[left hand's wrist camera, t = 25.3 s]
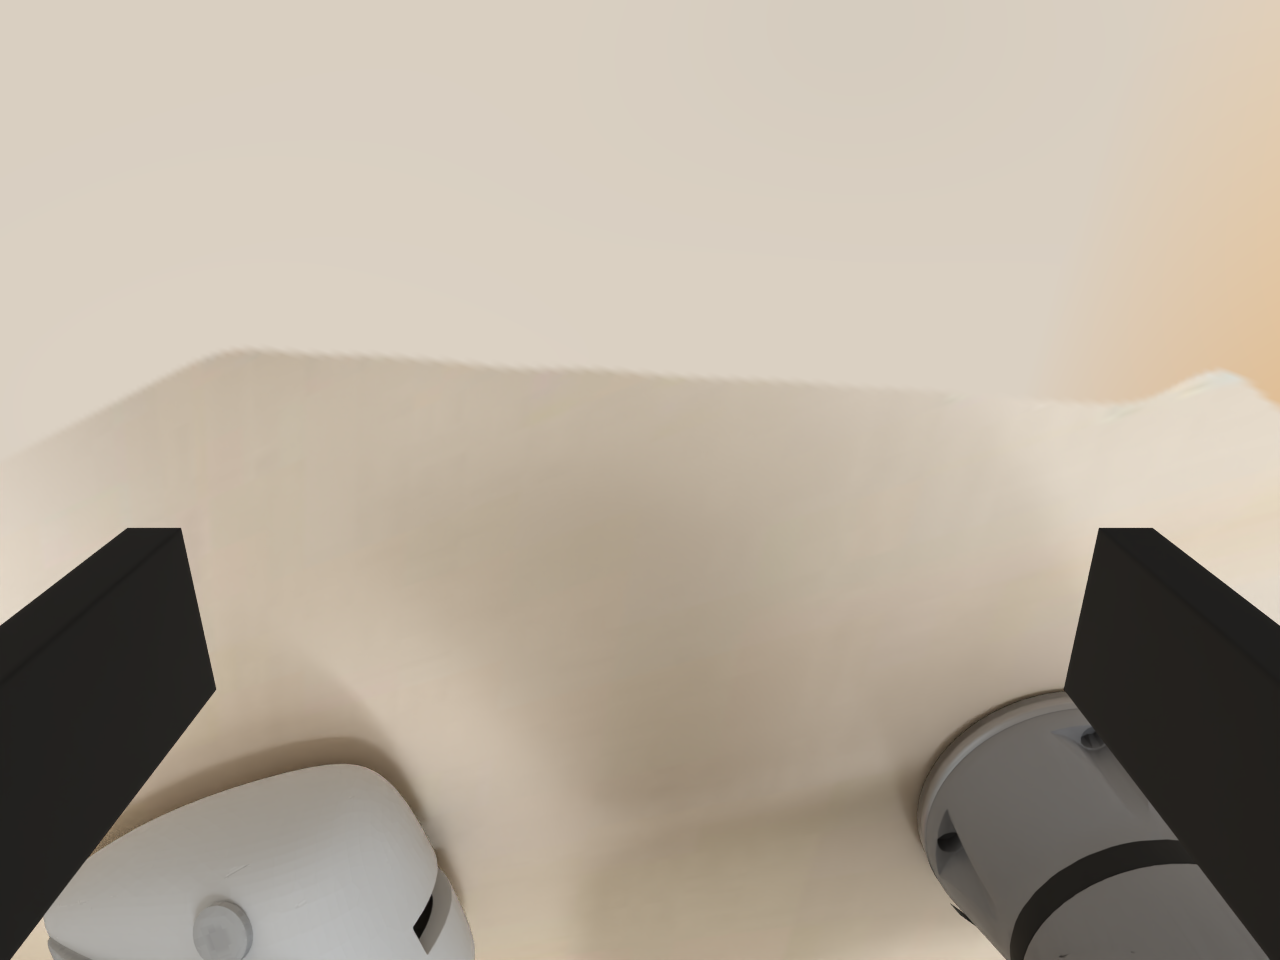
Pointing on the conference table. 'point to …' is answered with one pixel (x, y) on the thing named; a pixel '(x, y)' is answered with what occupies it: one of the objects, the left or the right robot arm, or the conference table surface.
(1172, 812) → the left robot arm
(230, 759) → the conference table surface
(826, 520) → the conference table surface
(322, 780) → the projector
